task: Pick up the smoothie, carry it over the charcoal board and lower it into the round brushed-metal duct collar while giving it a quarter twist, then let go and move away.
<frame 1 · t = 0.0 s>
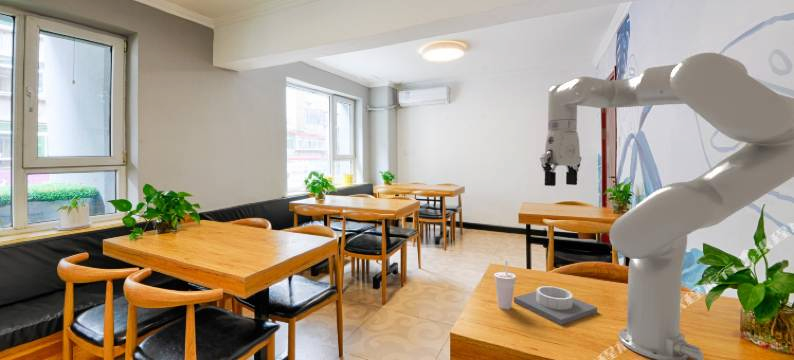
hand: (560, 185, 93), 37 cm above the table, tool pointing down, fingers open, 9 cm apart
duct collar: (553, 307, 94), on the table
smoothie: (504, 307, 94), on the table
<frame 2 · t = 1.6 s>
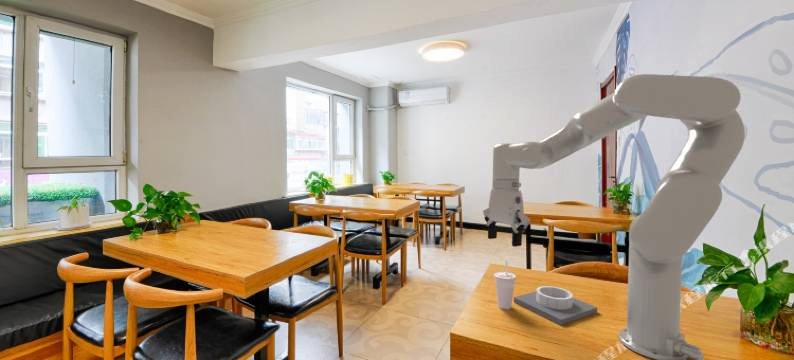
hand: (503, 242, 93), 20 cm above the table, tool pointing down, fingers open, 9 cm apart
nothing on the table moved.
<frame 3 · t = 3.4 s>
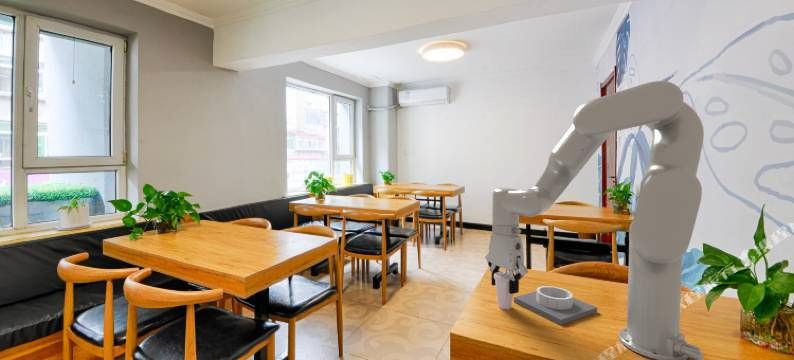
hand: (504, 288, 94), 6 cm above the table, tool pointing down, fingers closed on smoothie, 6 cm apart
smoothie: (504, 307, 94), on the table, touching gripper
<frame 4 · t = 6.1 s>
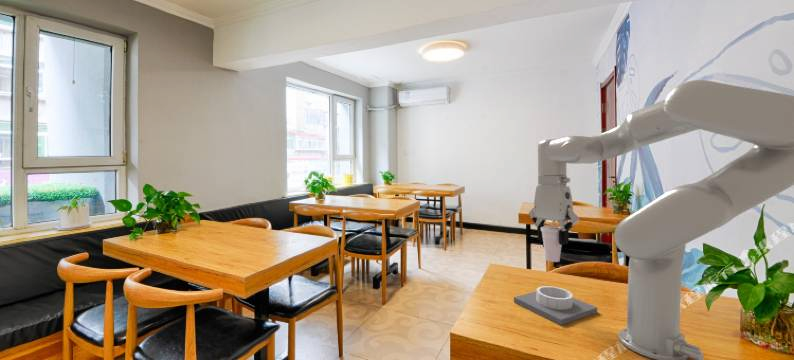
hand: (552, 241, 92), 20 cm above the table, tool pointing down, fingers closed on smoothie, 6 cm apart
smoothie: (552, 260, 92), point 14 cm above the table, touching gripper
when the fingers open (8 cm above the table, at t = 8.8 s): smoothie stays where it is, resting on duct collar.
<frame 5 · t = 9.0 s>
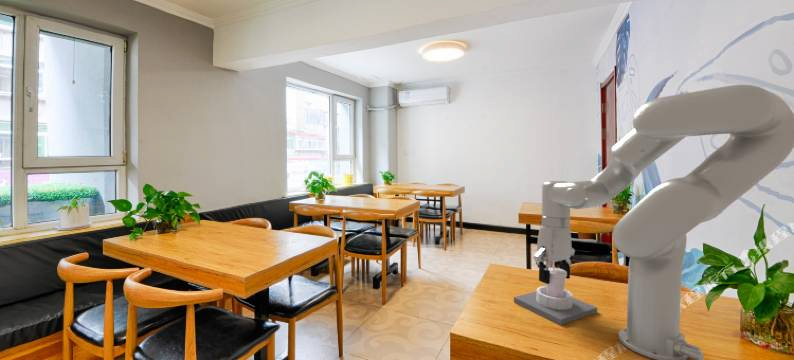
hand: (554, 279, 93), 8 cm above the table, tool pointing down, fingers open, 8 cm apart
smoothie: (554, 302, 93), point 1 cm above the table, touching duct collar
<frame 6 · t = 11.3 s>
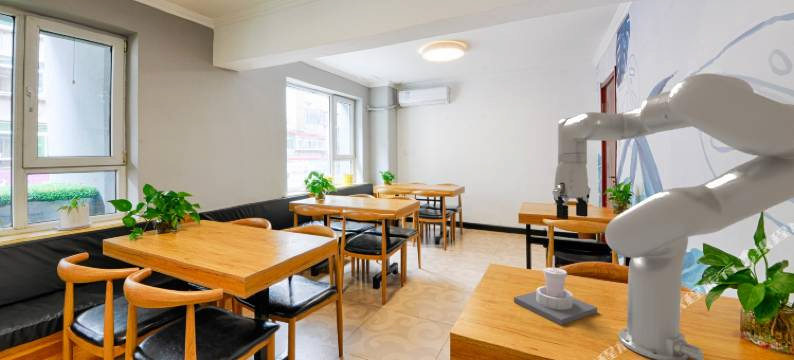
hand: (572, 217, 93), 27 cm above the table, tool pointing down, fingers open, 9 cm apart
nothing on the table moved.
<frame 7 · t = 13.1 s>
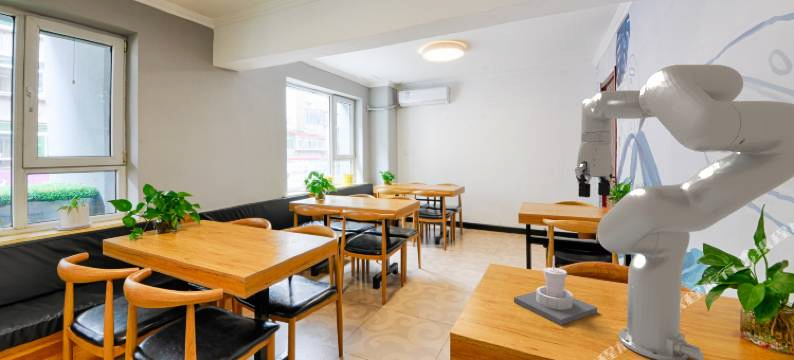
hand: (594, 196, 94), 33 cm above the table, tool pointing down, fingers open, 9 cm apart
nothing on the table moved.
at the end: smoothie 0.2 cm off-centre on the duct collar, point 1.3 cm above the duct collar's base; smoothie tilted 0°; the gripper is holding nothing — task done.
